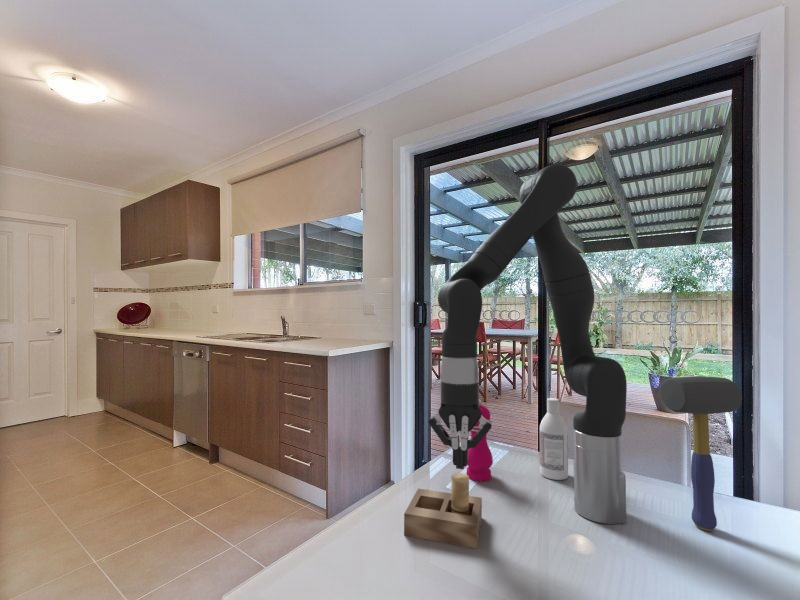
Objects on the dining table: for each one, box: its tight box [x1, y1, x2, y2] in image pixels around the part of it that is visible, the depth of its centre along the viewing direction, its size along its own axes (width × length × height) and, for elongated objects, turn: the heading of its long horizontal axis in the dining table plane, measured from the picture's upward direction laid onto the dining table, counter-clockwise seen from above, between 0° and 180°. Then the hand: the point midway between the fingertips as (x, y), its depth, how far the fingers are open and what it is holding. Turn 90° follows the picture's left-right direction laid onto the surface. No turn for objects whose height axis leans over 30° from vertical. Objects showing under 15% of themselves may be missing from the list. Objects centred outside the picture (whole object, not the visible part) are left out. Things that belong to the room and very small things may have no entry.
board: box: [403, 488, 483, 549], centre depth 74 cm, size 14×11×4 cm
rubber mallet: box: [660, 375, 743, 532], centre depth 75 cm, size 12×8×30 cm, turn 95°
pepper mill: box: [466, 398, 494, 482], centre depth 98 cm, size 7×7×20 cm
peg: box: [450, 472, 470, 515], centre depth 73 cm, size 4×4×10 cm
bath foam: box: [538, 397, 569, 481], centre depth 99 cm, size 7×7×20 cm
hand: (460, 467), depth 74 cm, fingers closed
